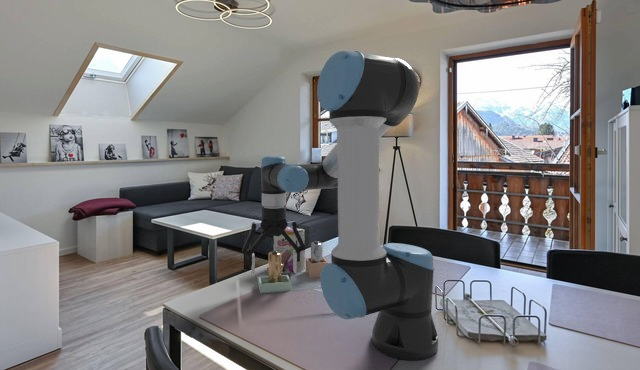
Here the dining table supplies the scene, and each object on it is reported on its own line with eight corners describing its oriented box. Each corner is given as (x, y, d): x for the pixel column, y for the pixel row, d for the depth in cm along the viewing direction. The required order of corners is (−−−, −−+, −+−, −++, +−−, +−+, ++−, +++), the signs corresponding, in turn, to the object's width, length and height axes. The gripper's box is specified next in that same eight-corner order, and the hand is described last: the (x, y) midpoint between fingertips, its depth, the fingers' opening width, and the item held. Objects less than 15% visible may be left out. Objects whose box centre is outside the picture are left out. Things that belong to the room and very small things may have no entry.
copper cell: (280, 284, 121) (280, 249, 120) (282, 288, 117) (282, 253, 116) (267, 285, 120) (267, 250, 119) (269, 289, 116) (269, 253, 115)
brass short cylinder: (284, 278, 125) (284, 265, 124) (273, 279, 124) (273, 266, 123) (283, 274, 128) (283, 262, 128) (272, 275, 127) (272, 262, 127)
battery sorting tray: (336, 289, 120) (336, 271, 119) (260, 296, 114) (260, 277, 113) (323, 272, 135) (323, 256, 134) (256, 278, 129) (256, 261, 129)
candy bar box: (272, 271, 138) (272, 227, 136) (281, 267, 142) (281, 224, 140) (296, 277, 132) (296, 231, 130) (305, 273, 136) (305, 228, 134)
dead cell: (323, 275, 129) (323, 242, 128) (312, 276, 128) (312, 243, 127) (320, 271, 133) (320, 239, 132) (309, 272, 132) (309, 240, 131)
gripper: (310, 203, 122) (309, 266, 125) (233, 205, 117) (234, 272, 119) (315, 207, 115) (314, 274, 118) (233, 209, 109) (234, 280, 112)
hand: (274, 273), depth 118 cm, fingers open, 12 cm apart
